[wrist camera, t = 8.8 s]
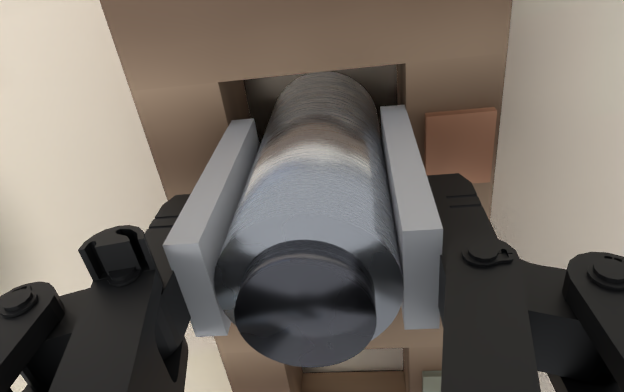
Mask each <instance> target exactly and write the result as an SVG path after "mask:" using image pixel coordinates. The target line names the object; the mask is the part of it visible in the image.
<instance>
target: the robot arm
mask: <svg viewBox="0 0 624 392" xmlns="http://www.w3.org/2000/svg"><path fill="white" fill-rule="evenodd" d="M380 111H381V134H382V147H383V153H384V160H385V166H386V173H387V179H388V186H389V192H390V199H391V205H392V212H393V218H394V225H395V231H396V238H397V245H398V251H399V258H400V264H401V271H402V277H403V286H404V292H403V300H402V304H401V308H402V315H403V322H404V329H405V330H410V329H439V325H440V317H441V321H442V325H443V350H442V373H441V392H541V390H540V384H539V378H538V372H537V371H541V372H545V373H547V374H548V376H549V378H550V381H551V383H552V385H553V387H554V389H555V391H556V392H624V257H622V256H618V255H614V254H610V253H603V252H589V253H584V254H579V255H577V256H576V257H574V258H573V259H571V260H570V261H569V264H568V267H567V270H566V269H560V268H553V267H547V266H541V265H537V264H532V263H528V262H526V261H523V260H521V259H519V257H518V255H517V252H516V250H514V249H513V248H512V247H511V246H510V245H508V244H507V243H505V242H503V241H501V240H498V238H497V236H496V234H495V232H494V229H493V227H492V225H491V223H490V221H489V219H488V217H487V214H486V212H485V210H484V208H483V206H482V204H481V202H480V199H479V197H477V193H476V191H475V189H474V187H473V184H472V182H470V181H469V180H467V179H466V178H465V177H463V176H462V175H461V174H459V173H454V174H440V175H426V172H425V168H424V165H423V162H422V159H421V155H420V152H419V149H418V146H417V142H416V139H415V136H414V133H413V129H412V126H411V123H410V120H409V117H408V113H407V111H406V108H405V105H394V106H383V107H380ZM259 147H260V145H259V140H258V135H257V130H256V125H255V120H254V118H251V119H240V120H232V121H231V123H230V124H229V126H228V127H227V129H226V131H225V133H224V135H223V136H222V138H221V140H220V142H219V144H218V146H217V147H216V149H215V151H214V153H213V155H212V156H211V158H210V160H209V162H208V164H207V165H206V167H205V169H204V171H203V173H202V175H201V176H200V178H199V180H198V182H197V184H196V185H195V187H194V189H193V191H192V193H191V194H182V195H175V196H174V197H172V198H171V199H170V200H169V201H167V202H166V203H165V204H164V205H162V207H161V208H160V210H159V212H158V213H157V215H156V216H155V219H153V221H152V223H151V224H150V226H149V229H147V231H146V232H145V234H144V232H143V231H142V230H141V229H140V228H139V227H135V226H131V225H126V226H117V227H113V228H109V229H106V230H104V231H102V232H99V233H97V234H95V235H93V236H92V237H91V238H89V239H88V240H87V241H85V242H84V243H83V245H82V246H81V247H80V248H79V250H78V251H79V253H80V255H81V257H82V259H83V261H84V263H85V265H86V267H87V269H88V271H89V273H90V275H91V277H92V279H93V283H92V285H91V288H88V289H85V290H81V291H77V292H74V293H70V294H66V295H63V296H58V294H57V292H56V290H55V289H54V287H53V286H52V285H50V284H49V283H45V282H34V283H28V284H25V285H21V286H20V287H19V286H18V287H16V288H14V289H12V290H11V291H9V292H7V293H6V294H4V295H2V296H1V297H0V392H13V391H12V390H11V388H10V387H11V385H12V384H13V383H14V381H15V380H16V379H17V377H18V376H19V375H20V374H21V375H22V377H23V378H24V380H25V381H26V382H27V384H28V385H27V386H26V387H25V389H24V390H23V391H22V392H184V387H185V378H186V369H187V360H188V345H187V342H186V339H185V337H184V335H185V332H186V329H187V327H188V324H189V321H191V324H192V327H193V329H194V332H195V335H196V337H203V336H227V335H228V332H229V328H230V325H231V321H230V319H229V318H228V317H227V315H226V314H225V313H224V311H223V309H222V308H221V306H220V304H219V302H218V299H217V297H216V292H215V288H214V273H215V267H216V264H217V261H218V258H219V255H220V253H221V250H222V247H223V245H224V242H225V239H226V236H227V234H228V231H229V228H230V226H231V223H232V220H233V217H234V215H235V212H236V209H237V207H238V204H239V201H240V198H241V196H242V193H243V190H244V188H245V185H246V182H247V180H248V177H249V174H250V171H251V169H252V166H253V163H254V161H255V158H256V155H257V152H258V150H259Z"/></svg>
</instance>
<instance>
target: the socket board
mask: <svg viewBox="0 0 624 392" xmlns="http://www.w3.org/2000/svg"><path fill="white" fill-rule="evenodd" d="M100 3H101V6H102V9H103V12H104V15H105V18H106V20H107V23H108V26H109V29H110V32H111V35H112V38H113V41H114V44H115V47H116V50H117V53H118V56H119V59H120V62H121V65H122V67H123V70H124V73H125V76H126V79H127V82H128V85H129V88H130V91H131V94H132V97H133V100H134V103H135V106H136V109H137V112H138V115H139V117H140V120H141V123H142V126H143V129H144V132H145V135H146V138H147V141H148V144H149V147H150V150H151V153H152V156H153V159H154V162H155V164H156V167H157V170H158V173H159V176H160V179H161V182H162V185H163V188H164V191H165V194H166V197H167V200H168V201H169V200H170V199H171V198H172V197H174V196H175V195H182V194H191V193H192V191H193V189H194V187H195V185H196V184H197V182H198V180H199V178H200V176H201V175H202V173H203V171H204V169H205V167H206V165H207V164H208V162H209V160H210V158H211V156H212V155H213V153H214V151H215V149H216V147H217V146H218V144H219V142H220V140H221V138H222V136H223V135H224V133H225V131H226V129H227V127H228V126H229V124H230V123H231V121H232V120H240V119H251V116H250V111H249V106H248V101H247V96H246V91H245V86H244V81H243V80H246V79H256V78H265V77H275V76H285V75H295V74H305V73H315V72H325V71H334V70H344V69H354V68H364V67H374V66H384V65H394V64H396V65H397V105H405V108H406V111H407V113H408V117H409V120H410V123H411V126H412V129H413V133H414V136H415V139H416V142H417V146H418V149H419V152H420V155H421V159H422V162H423V165H424V168H425V172H426V175H440V174H454V173H459V174H461V175H462V176H463V177H465V178H466V179H467V180H469V181H470V182H472V184H473V187H474V189H475V191H476V193H477V197H479V199H480V202H481V204H482V206H483V208H484V210H485V212H486V214H487V217H488V219H489V221H490V213H491V203H492V193H493V183H494V174H495V164H496V154H497V145H498V135H499V125H500V116H501V106H502V96H503V86H504V77H505V67H506V57H507V48H508V38H509V28H510V18H511V9H512V0H100ZM214 338H215V341H216V344H217V347H218V350H219V353H220V355H221V358H222V361H223V364H224V367H225V370H226V373H227V376H228V379H229V382H230V385H231V388H232V391H233V392H441V373H442V350H443V325H442V321H441V317H440V325H439V329H410V330H405V329H404V322H403V315H402V308H401V307H400V309H399V312H398V314H397V316H396V317H395V319H394V320H393V322H392V323H391V324H390V325H389V326H388V328H387V329H386V330H385V331H383V332H382V333H381V334H380V335H379V336H377V337H376V338H374V339H373V340H371V341H370V343H369V344H368V345H367V346H366V347H365V348H364V349H381V348H403V369H404V371H373V372H330V373H303V371H302V367H297V366H291V365H287V364H283V363H280V362H277V361H274V360H272V359H270V358H268V357H266V356H264V355H262V354H260V353H259V352H257V351H256V350H255V349H253V348H252V347H251V346H250V345H249V344H248V343H247V342H246V341H245V340H244V338H243V337H242V336H241V334H240V332H239V331H238V328H237V327H236V326H235V325H234V324H233V323H232V322H231V325H230V328H229V332H228V335H227V336H214Z"/></svg>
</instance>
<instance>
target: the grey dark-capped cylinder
mask: <svg viewBox="0 0 624 392" xmlns="http://www.w3.org/2000/svg"><path fill="white" fill-rule="evenodd" d="M214 288H215V292H216V297H217V299H218V302H219V304H220V306H221V308H222V309H223V311H224V313H225V314H226V315H227V317H228V318H229V319H230V321H231V322H232V323H233V324H234V325H235V326H236V327H237V328H238V331H239V332H240V334H241V336H242V337H243V338H244V340H245V341H246V342H247V343H248V344H249V345H250V346H251V347H252V348H253V349H255V350H256V351H257V352H259V353H260V354H262V355H264V356H266V357H268V358H270V359H272V360H274V361H277V362H280V363H283V364H287V365H291V366H297V367H324V366H330V365H334V364H338V363H341V362H344V361H346V360H348V359H350V358H352V357H354V356H355V355H357V354H359V353H360V352H361V351H362V350H363V349H364V348H365V347H366V346H367V345H368V344H369V343H370V341H371V340H373V339H374V338H376V337H377V336H379V335H380V334H381V333H382V332H383V331H385V330H386V329H387V328H388V326H389V325H390V324H391V323H392V322H393V320H394V319H395V317H396V316H397V314H398V312H399V309H400V307H401V304H402V300H403V292H404V286H403V277H402V271H401V264H400V258H399V251H398V245H397V238H396V231H395V225H394V218H393V212H392V205H391V199H390V192H389V186H388V179H387V173H386V166H385V160H384V153H383V147H382V140H381V134H380V127H379V121H378V114H377V110H376V106H375V104H374V101H373V99H372V98H371V96H370V94H369V93H368V92H367V90H366V89H365V88H364V87H363V86H362V85H361V84H359V83H358V82H357V81H355V80H354V79H352V78H350V77H348V76H346V75H343V74H340V73H336V72H328V71H325V72H315V73H310V74H306V75H304V76H301V77H299V78H297V79H296V80H294V81H293V82H291V83H290V84H289V85H288V86H287V87H286V88H285V89H284V90H283V91H282V93H281V94H280V96H279V97H278V99H277V101H276V104H275V106H274V109H273V112H272V114H271V117H270V120H269V123H268V125H267V128H266V131H265V133H264V136H263V139H262V142H261V144H260V147H259V150H258V152H257V155H256V158H255V161H254V163H253V166H252V169H251V171H250V174H249V177H248V180H247V182H246V185H245V188H244V190H243V193H242V196H241V198H240V201H239V204H238V207H237V209H236V212H235V215H234V217H233V220H232V223H231V226H230V228H229V231H228V234H227V236H226V239H225V242H224V245H223V247H222V250H221V253H220V255H219V258H218V261H217V264H216V267H215V273H214Z"/></svg>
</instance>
